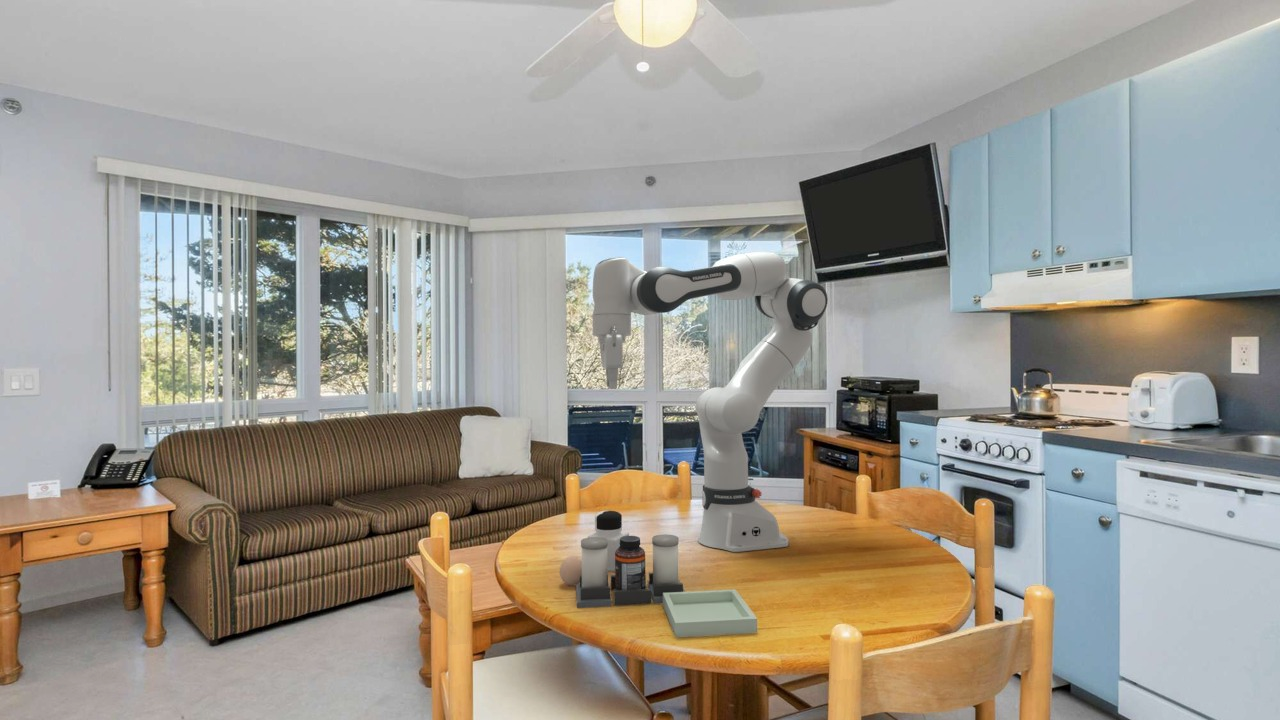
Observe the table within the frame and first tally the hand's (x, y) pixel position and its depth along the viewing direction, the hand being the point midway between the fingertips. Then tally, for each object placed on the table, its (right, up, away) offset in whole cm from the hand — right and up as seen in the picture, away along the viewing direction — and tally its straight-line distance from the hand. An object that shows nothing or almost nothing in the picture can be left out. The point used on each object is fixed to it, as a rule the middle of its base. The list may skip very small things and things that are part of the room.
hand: (611, 388), depth 147 cm
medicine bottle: (-1, -40, -3) cm, 40 cm away
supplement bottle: (+5, -40, -22) cm, 46 cm away
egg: (-7, -40, -15) cm, 43 cm away
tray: (+19, -40, -33) cm, 55 cm away
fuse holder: (+5, -40, -22) cm, 45 cm away
